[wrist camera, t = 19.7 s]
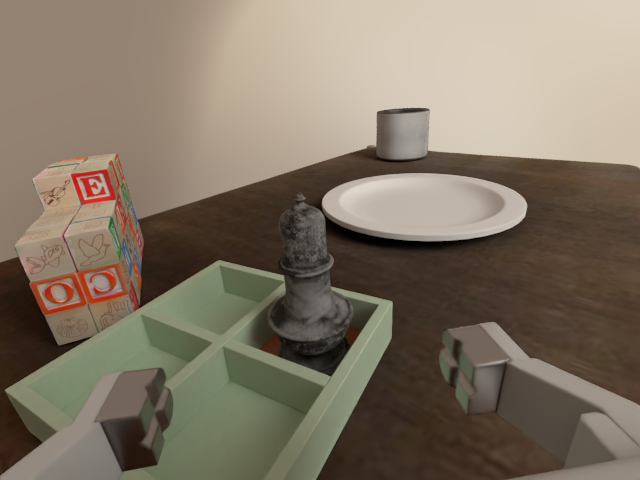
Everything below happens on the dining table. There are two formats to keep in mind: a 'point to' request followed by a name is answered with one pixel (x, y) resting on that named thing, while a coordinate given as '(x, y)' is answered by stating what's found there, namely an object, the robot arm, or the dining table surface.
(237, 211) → the dining table surface
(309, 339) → the grey chess piece
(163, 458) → the grid
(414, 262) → the dining table surface
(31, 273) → the stack of blocks
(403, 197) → the plate
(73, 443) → the robot arm
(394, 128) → the planter
